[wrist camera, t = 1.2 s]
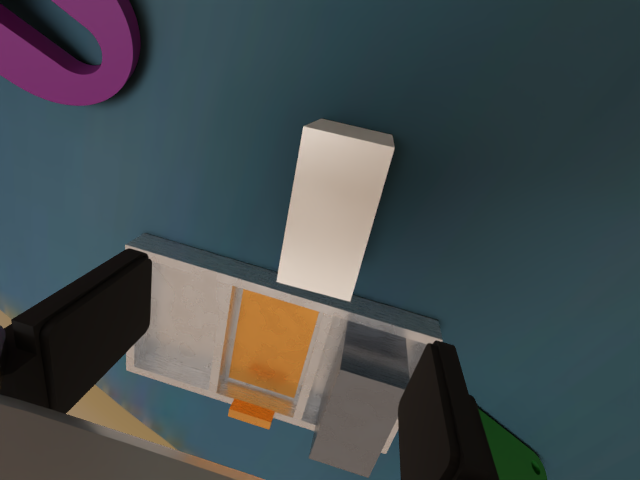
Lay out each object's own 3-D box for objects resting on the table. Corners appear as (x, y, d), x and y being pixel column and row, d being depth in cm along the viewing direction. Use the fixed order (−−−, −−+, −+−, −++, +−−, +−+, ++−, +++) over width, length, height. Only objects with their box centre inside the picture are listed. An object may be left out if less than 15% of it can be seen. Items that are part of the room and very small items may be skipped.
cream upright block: (321, 118, 24) (303, 126, 19) (392, 134, 24) (394, 147, 18) (297, 245, 28) (276, 281, 23) (356, 260, 28) (350, 301, 22)
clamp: (425, 389, 37) (388, 450, 30) (471, 371, 34) (441, 435, 27) (502, 493, 35) (481, 584, 28) (560, 485, 31) (553, 588, 24)
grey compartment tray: (438, 320, 29) (452, 379, 23) (385, 430, 34) (385, 500, 29) (144, 232, 30) (86, 267, 24) (142, 353, 36) (95, 404, 30)
